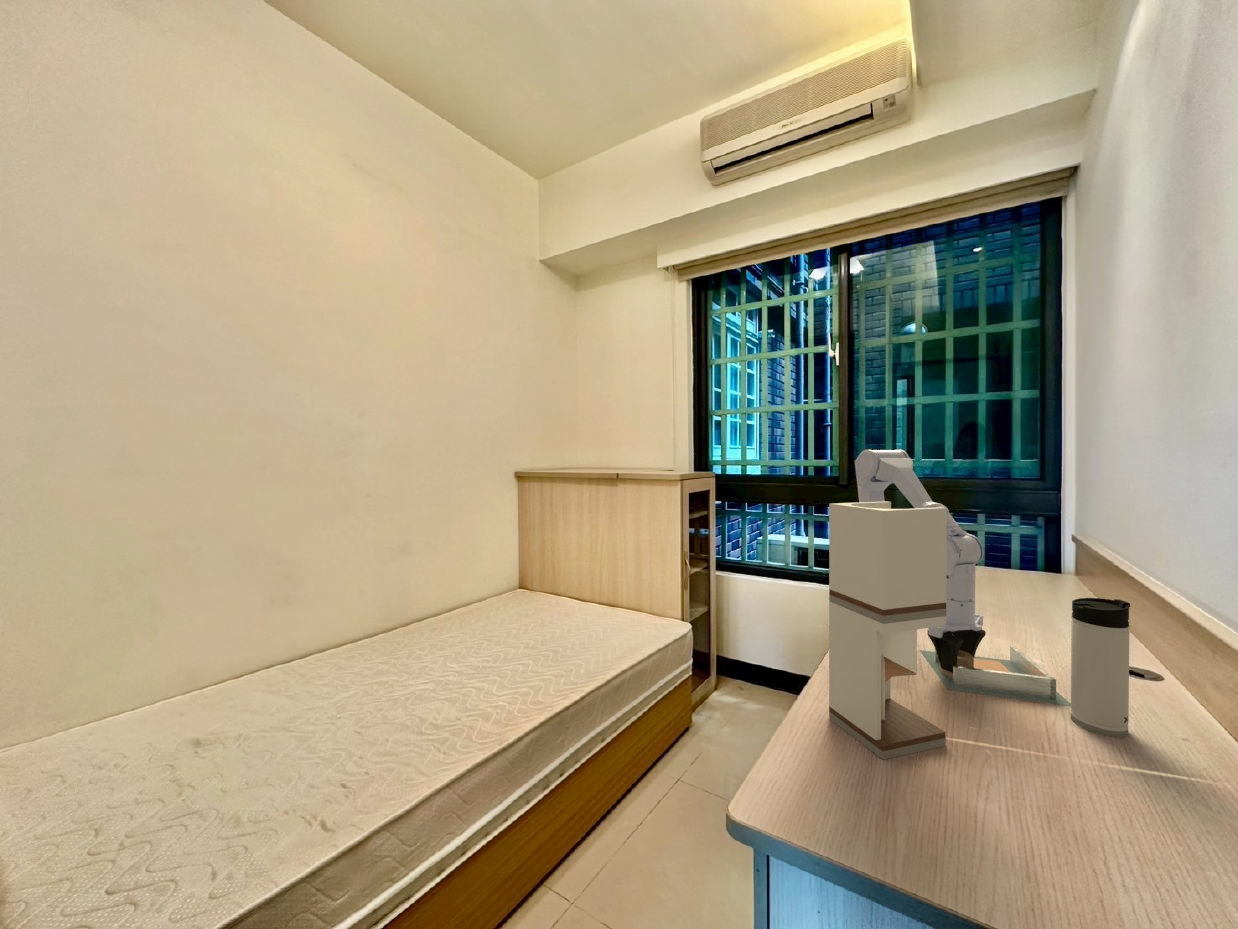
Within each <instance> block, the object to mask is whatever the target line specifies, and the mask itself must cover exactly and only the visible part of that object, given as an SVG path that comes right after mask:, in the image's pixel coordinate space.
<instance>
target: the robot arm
mask: <svg viewBox="0 0 1238 929" xmlns="http://www.w3.org/2000/svg"><path fill="white" fill-rule="evenodd" d="M854 465H855V466H854V468H855V475H856V485H857V493H858V494H857V495H858V501H859V502H885V495H884V494H885V493H884V492H885V490H886V489H887V488H888V487H889V486H890V485H892V484H894V485H895V486H896V487H897V489H898V490H899V491H900V492H901V494H902V495H903V496H904V498H906V500H907V501H908V502H909V503H910V504H911V505H912V507H913V509H915V508H938V507H942V508H947V566H946V626H939V627H931V628H928V629H927V636H928V638H929V639H930V641H931V643H932V644H933V646H934V650H935V649H936V652H937V655H938V659H939V662H940V666H941V669H944V670H946V671H949V672H952V673H953V666H956V664H957V656H958V652H959V650H962V651H965V652H968V653H970V654H971V655H972V656H973V657H974V656H976V652H977V650H978V647H979V645H980V643H981V641H982V640H983V638H984V637H985V636H986V630H984V629H983V626H984V616H983V615H981V614H978V613H976V564H979V563H980V562H981V561H982V560H983V559H984V558H983V557H984V555H985V553H984V547H983V544H982V543H981V541H980V539H979V538H978V537H977V536H975V535H973V534H970V533H968V532H967V531H966V530H965V529H964V530H963V529H962V528H961V526H959V524H958V523H957V521H956V520H955V519H954V518H953V516H952V515H951V514H950V510H949V509H948V507H947V506H945V505H943V503H938V502H935V501H933V500H932V498H931V496H930V495H929V494H928V492H927V490H926V489H925V487H924V485H923V483H922V482H921V481H920V479H919V478H918V476H917V475H916V473H915V471H914V461H913V460H912V459H911V457H910V456H909V453H907V452H906V451H905V450H903V449H894V450H893V449H880V450H879V449H878V450H877V449H873V450H872V449H864V450H862V451H861V452H860V453H859V455H858V456H857V458H856V459H855V460H854ZM859 502H858V503H859Z"/></svg>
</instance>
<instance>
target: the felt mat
mask: <svg viewBox="0 0 1238 929" xmlns="http://www.w3.org/2000/svg"><path fill="white" fill-rule="evenodd" d="M919 651H920V653H921V654H922V655H923V657H924V658H925V660H926V661H927V663H928V664H929V666H930V667H931V668H932V669H933V671H934V672H935V674H936V676H938V678H939V679H940V681H941V682H942V683H943V685H944V686H945V688H946V689H947V690H948V691H955V692H961V693H967V694H968V693H969V694H975V695H976V694H977V695H982V696H990V697H999V698H1006V699H1015V700H1019V701H1020V700H1021V701H1028V702H1033V703H1034V702H1037V703H1043V704H1049V705H1058V706H1064V707H1071V701H1070V702H1069V700H1067V699H1066V698H1065V697H1064V696H1063V695H1061V693H1059V692H1058V691H1057V690H1056V700H1053V699H1045V698H1038V697H1030V696H1023V695H1015V694H1008V693H1000V692H993V691H985V690H978V689H970V688H963V687H955V686H954V685H953V678H951V677H948V676H946V675H943V674H942V673H941V671H940V670H939V662H936V661H935V651H931V650H923V649H920V650H919ZM974 658H975V659H984V660H992V661H999V662H1001V663H1002V664H1003V665H1004V666H1005V667H1006V668H1007V669H1008V670H1009V671H1010V672H1011V673H1019V674H1022V673H1021V672H1019V671H1018V670H1017V669H1016V668H1015V667H1014V666H1013V665H1012V664H1010V659H1009V660H1008V659H1001V658H993V657H985V656H982V657H981V656H976V655H975V656H974Z"/></svg>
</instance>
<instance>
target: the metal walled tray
mask: <svg viewBox="0 0 1238 929" xmlns="http://www.w3.org/2000/svg"><path fill="white" fill-rule="evenodd" d="M1009 647H1010V648H1009V660H1010V664H1012V665H1013V666H1014V667H1015V668H1016V669H1017V670H1018V671H1019V672H1021V673H1022V674H1019V673H1010V672H1002V671H994V670H986V669H977V668H969V667H961V666H953V685H954V686H955V687H963V688H970V689H978V690H985V691H993V692H1000V693H1008V694H1015V695H1023V696H1030V697H1038V698H1045V699H1053V700H1056V691H1057V679H1056V678H1055V677H1054V676H1052V675H1051V674H1050V673H1048V672H1047V671H1046V670H1045V669H1043V668H1042V667H1041V666H1039V664H1037V663H1036V662H1035V661H1034V660H1032V658H1030V657H1029V656H1027V655H1026V654H1025V653H1024V652H1022V651H1021V650H1020V649H1019V648H1018V647H1016V646H1015V645H1010V646H1009ZM934 652H935V661H936V662H939V659H938V655H937V652H936V649H935V648H934Z"/></svg>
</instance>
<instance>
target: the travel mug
mask: <svg viewBox="0 0 1238 929" xmlns="http://www.w3.org/2000/svg"><path fill="white" fill-rule="evenodd" d="M1130 608H1131V603H1130V602H1128V601H1125V600H1122V599H1119V598H1118V599H1108V598H1099V597H1098V598H1097V597H1081V598H1076V599H1073V600H1072V602H1071V611H1072V613H1071V616H1070V617H1071V625H1070V626H1071V628H1070V629H1071V630H1070V632H1071V634H1070V635H1071V636H1070V637H1071V638H1070V640H1071V641H1070V642H1071V644H1070V646H1071V648H1070V660H1071V661H1070V703H1071V706H1070V720H1071V721H1072V722H1073V723H1074V724H1076V725H1077V726H1079V727H1080V728H1082V729H1085V730H1087V731H1089V732H1093V733H1094V734H1098V735H1102V736H1106V737H1110V738H1119V739H1120V738H1126V737H1128V736H1129V721H1130V720H1129V718H1130V717H1129V709H1130V708H1129V706H1130V705H1129V703H1130V702H1129V700H1130V699H1129V698H1130V696H1129V695H1130V689H1129V688H1130V631H1129V630H1130V622H1129V620H1130Z"/></svg>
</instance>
